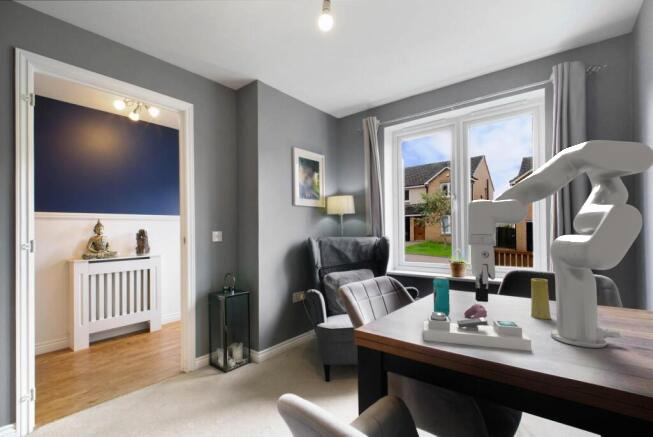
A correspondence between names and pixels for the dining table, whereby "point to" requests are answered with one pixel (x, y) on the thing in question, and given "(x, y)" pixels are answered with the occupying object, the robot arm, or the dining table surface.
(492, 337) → the control panel
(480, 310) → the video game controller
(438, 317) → the steel button
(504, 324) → the teal button
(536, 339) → the dining table surface
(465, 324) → the rocker switch
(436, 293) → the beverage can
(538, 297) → the vase
